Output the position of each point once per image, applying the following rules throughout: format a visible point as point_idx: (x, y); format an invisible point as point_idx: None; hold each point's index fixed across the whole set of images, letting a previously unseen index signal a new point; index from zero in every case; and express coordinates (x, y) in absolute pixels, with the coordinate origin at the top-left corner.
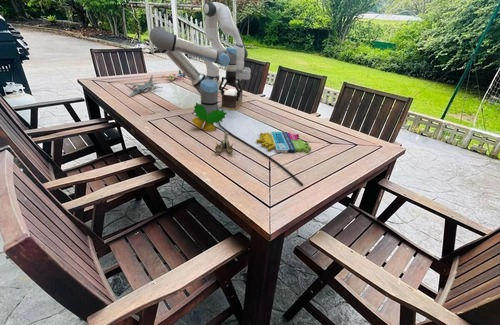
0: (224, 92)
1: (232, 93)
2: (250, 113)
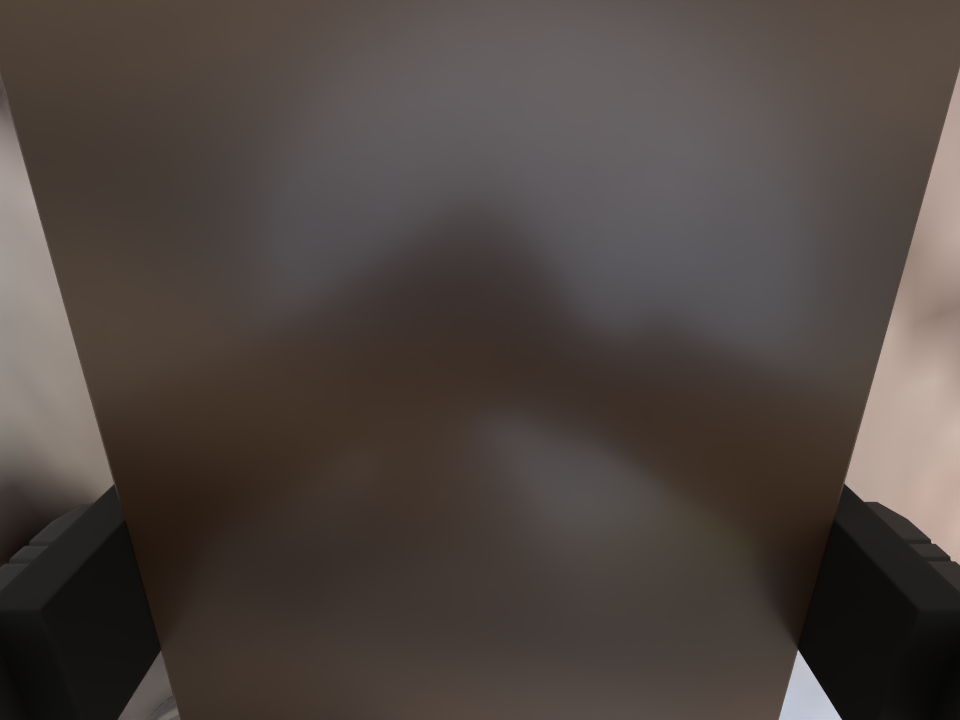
0: (114, 480)
1: (547, 480)
2: (943, 527)
